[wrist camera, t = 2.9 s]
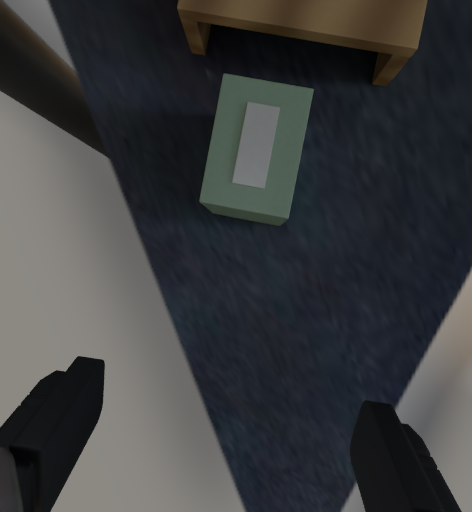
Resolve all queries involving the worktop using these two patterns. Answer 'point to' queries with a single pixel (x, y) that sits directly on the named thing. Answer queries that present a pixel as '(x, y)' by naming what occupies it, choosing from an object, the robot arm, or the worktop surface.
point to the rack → (317, 25)
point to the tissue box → (255, 149)
